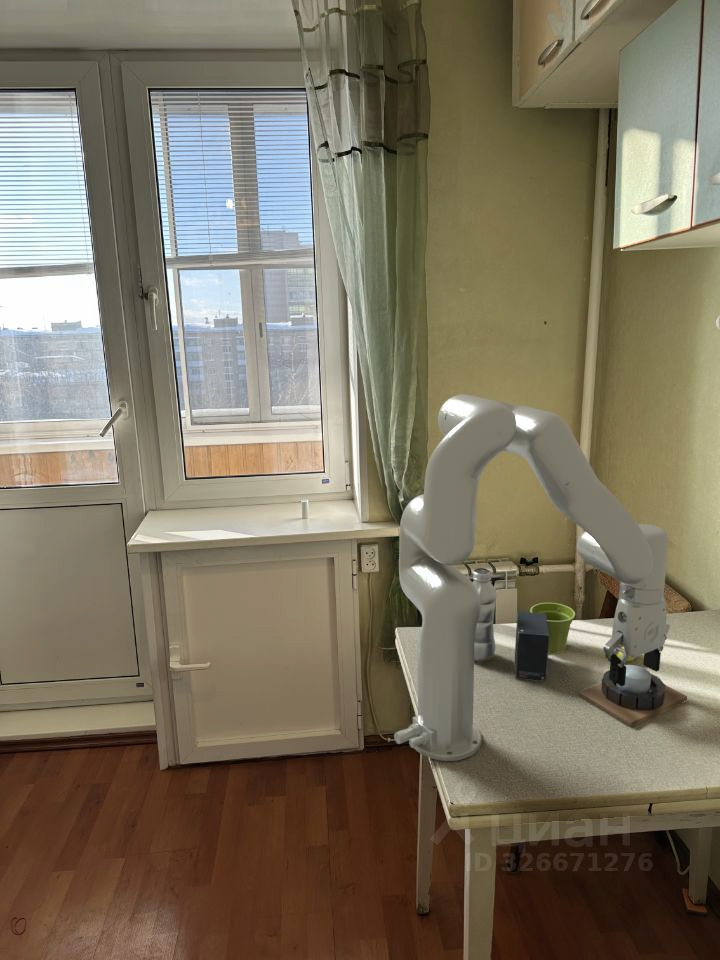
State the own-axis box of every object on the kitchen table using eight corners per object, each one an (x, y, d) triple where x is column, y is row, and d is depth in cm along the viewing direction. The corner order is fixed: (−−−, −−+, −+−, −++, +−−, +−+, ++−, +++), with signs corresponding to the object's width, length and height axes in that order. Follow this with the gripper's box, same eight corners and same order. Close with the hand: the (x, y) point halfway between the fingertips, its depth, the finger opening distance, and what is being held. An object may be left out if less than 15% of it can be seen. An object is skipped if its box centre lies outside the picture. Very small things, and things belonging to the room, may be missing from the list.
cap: (635, 706, 127) (637, 683, 126) (608, 691, 132) (610, 669, 131) (656, 696, 130) (658, 674, 129) (629, 682, 135) (631, 661, 134)
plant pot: (572, 660, 146) (574, 623, 144) (527, 654, 148) (528, 618, 146) (573, 640, 154) (575, 605, 152) (530, 635, 157) (532, 600, 155)
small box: (548, 682, 137) (550, 635, 135) (514, 679, 139) (516, 632, 136) (544, 656, 148) (547, 612, 145) (514, 654, 149) (515, 610, 146)
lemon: (642, 654, 148) (643, 637, 147) (629, 669, 142) (631, 652, 141) (623, 648, 150) (624, 632, 150) (609, 663, 145) (610, 646, 144)
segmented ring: (637, 717, 124) (639, 704, 123) (589, 689, 133) (590, 677, 132) (676, 698, 129) (677, 687, 128) (627, 673, 138) (628, 662, 138)
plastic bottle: (462, 663, 146) (463, 575, 141) (467, 648, 152) (469, 563, 147) (492, 667, 144) (495, 578, 139) (497, 652, 150) (499, 566, 145)
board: (630, 727, 122) (631, 722, 122) (578, 696, 132) (578, 691, 132) (686, 700, 130) (687, 696, 130) (633, 673, 140) (633, 669, 140)
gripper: (626, 610, 118) (619, 698, 123) (689, 588, 127) (680, 671, 131) (592, 595, 125) (586, 679, 129) (654, 575, 133) (647, 655, 137)
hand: (634, 675), depth 130 cm, fingers open, 9 cm apart
